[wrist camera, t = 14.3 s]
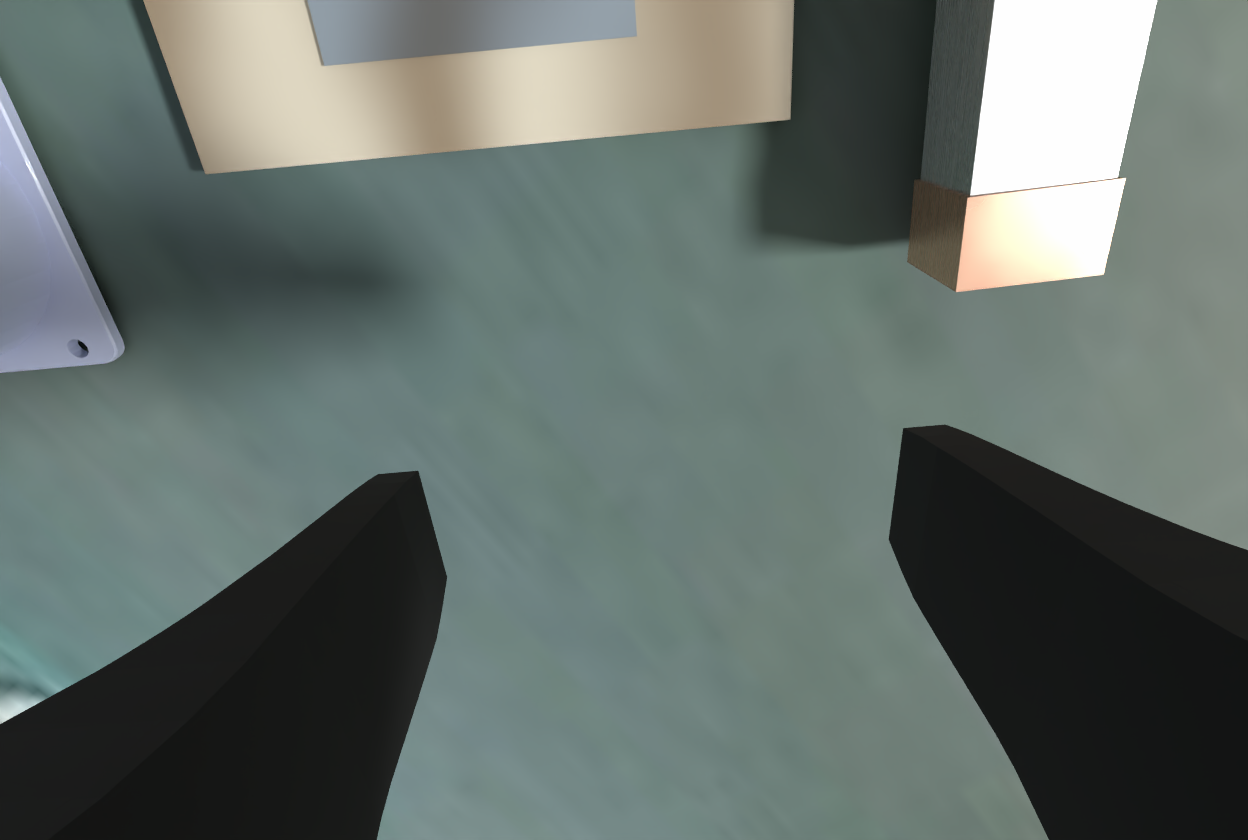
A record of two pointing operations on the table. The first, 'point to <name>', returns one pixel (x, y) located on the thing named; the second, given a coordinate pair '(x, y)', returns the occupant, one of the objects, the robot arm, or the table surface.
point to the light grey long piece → (1025, 138)
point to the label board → (463, 73)
